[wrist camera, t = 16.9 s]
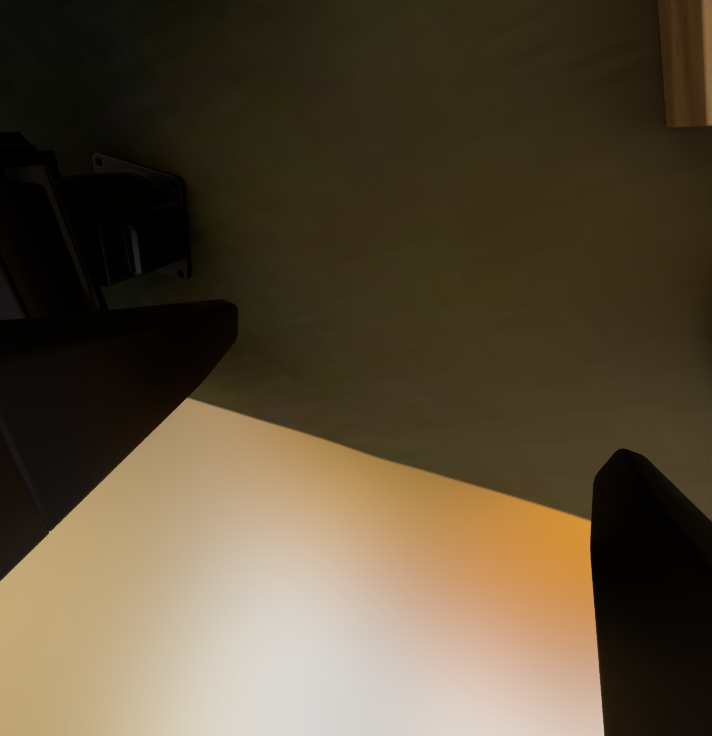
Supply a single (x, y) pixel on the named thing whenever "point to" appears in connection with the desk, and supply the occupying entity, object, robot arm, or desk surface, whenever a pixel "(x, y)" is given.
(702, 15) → the square wooden frame
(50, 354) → the robot arm
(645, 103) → the desk surface
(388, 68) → the desk surface
